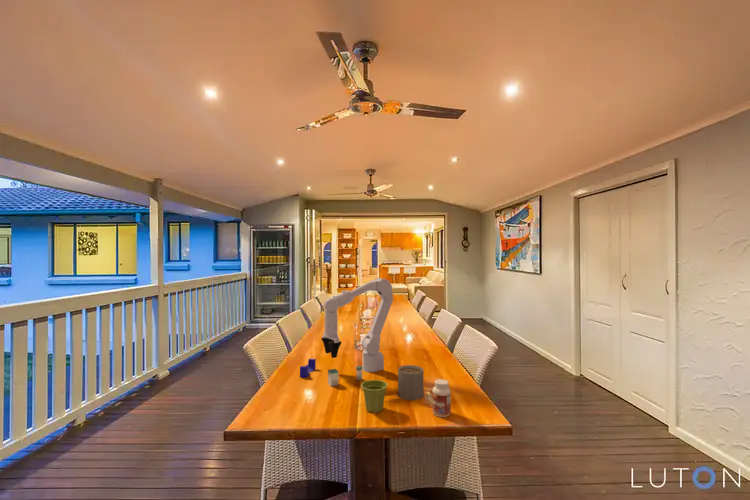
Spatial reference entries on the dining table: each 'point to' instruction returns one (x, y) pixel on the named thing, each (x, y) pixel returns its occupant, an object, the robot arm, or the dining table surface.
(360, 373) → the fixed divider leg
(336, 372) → the leg
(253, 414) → the dining table surface
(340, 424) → the dining table surface
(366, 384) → the plant pot
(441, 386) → the pill bottle
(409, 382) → the coffee mug
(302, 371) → the cable clip
